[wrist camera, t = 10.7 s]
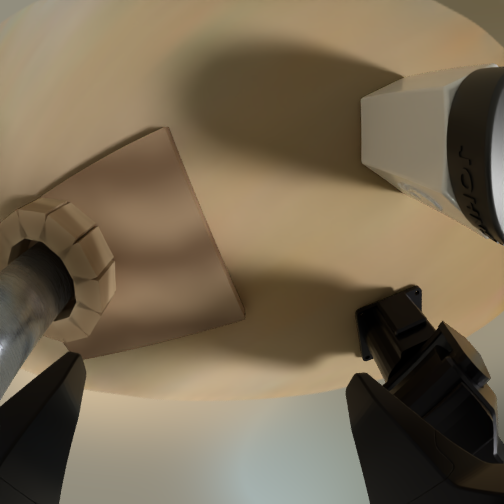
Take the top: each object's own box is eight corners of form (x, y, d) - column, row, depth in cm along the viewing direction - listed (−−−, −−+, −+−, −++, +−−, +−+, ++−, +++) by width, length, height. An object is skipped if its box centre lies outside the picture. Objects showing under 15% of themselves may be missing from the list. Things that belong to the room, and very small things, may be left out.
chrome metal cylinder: (96, 273, 20) (3, 404, 8) (64, 302, 21) (-15, 417, 9) (55, 222, 18) (-68, 322, 6) (27, 257, 19) (-71, 354, 7)
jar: (332, 148, 18) (448, 182, 7) (382, 57, 15) (506, 19, 4) (421, 210, 20) (531, 283, 9) (462, 129, 17) (580, 155, 6)
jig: (244, 310, 23) (246, 345, 19) (81, 352, 24) (65, 381, 21) (168, 127, 17) (150, 126, 13) (4, 224, 19) (-24, 242, 15)
